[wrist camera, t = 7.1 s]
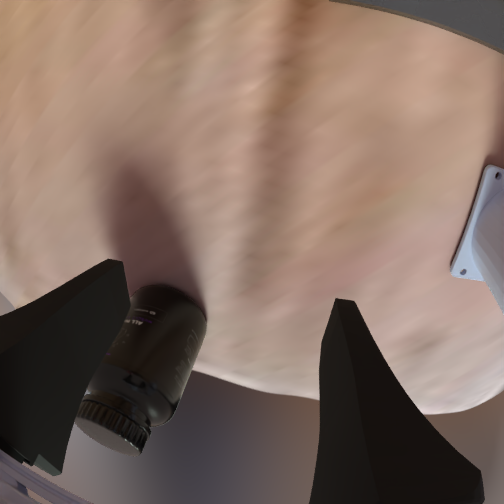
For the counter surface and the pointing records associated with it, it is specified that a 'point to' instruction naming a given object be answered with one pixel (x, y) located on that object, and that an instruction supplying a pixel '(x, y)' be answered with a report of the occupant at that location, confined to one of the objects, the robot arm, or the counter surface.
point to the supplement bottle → (143, 370)
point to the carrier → (450, 16)
